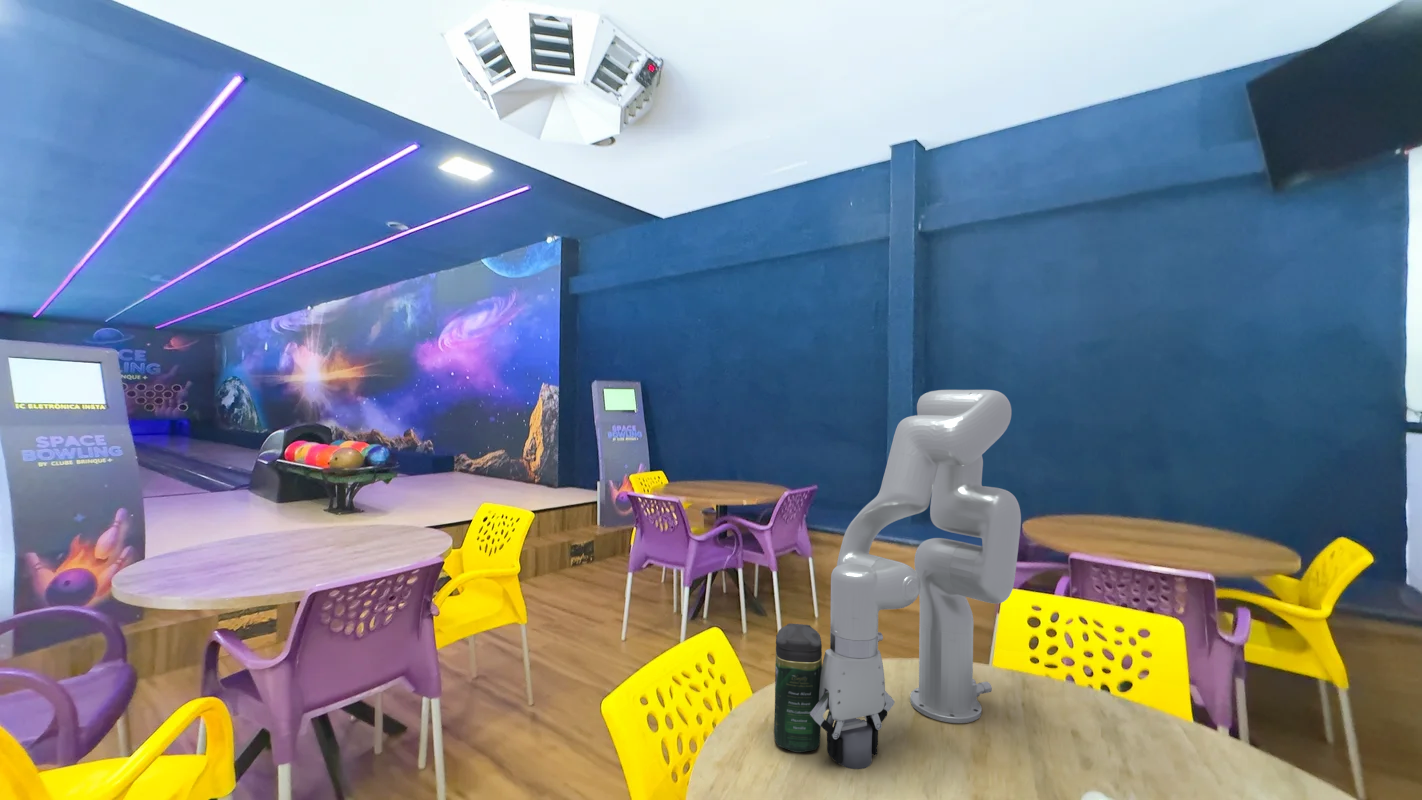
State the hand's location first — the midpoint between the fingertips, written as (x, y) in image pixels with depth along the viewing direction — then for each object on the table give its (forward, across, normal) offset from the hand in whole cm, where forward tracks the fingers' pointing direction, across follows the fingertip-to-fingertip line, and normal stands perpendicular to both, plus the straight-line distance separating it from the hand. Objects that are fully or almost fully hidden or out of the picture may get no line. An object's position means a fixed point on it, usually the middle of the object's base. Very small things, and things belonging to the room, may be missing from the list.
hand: (852, 753), depth 98 cm
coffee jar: (+1, +6, -8) cm, 10 cm away
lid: (+1, 0, 0) cm, 1 cm away
